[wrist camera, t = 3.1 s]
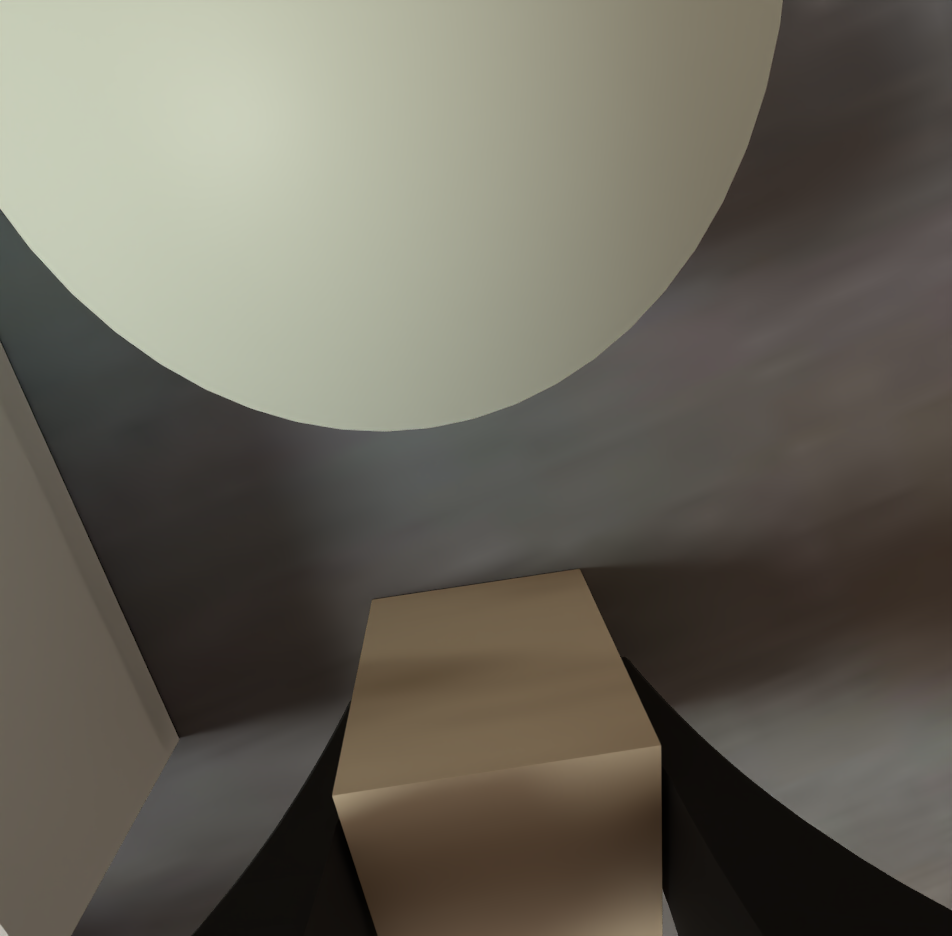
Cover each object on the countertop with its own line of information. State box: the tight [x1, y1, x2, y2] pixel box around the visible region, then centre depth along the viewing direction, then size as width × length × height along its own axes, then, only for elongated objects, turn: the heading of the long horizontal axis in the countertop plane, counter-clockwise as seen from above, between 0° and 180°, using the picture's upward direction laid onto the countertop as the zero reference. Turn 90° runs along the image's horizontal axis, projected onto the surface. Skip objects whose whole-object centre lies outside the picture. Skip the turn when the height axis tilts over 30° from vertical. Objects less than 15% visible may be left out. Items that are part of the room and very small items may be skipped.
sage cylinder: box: [0, 0, 783, 431], centre depth 6 cm, size 5×5×7 cm
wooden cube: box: [332, 569, 662, 936], centre depth 11 cm, size 5×5×5 cm
